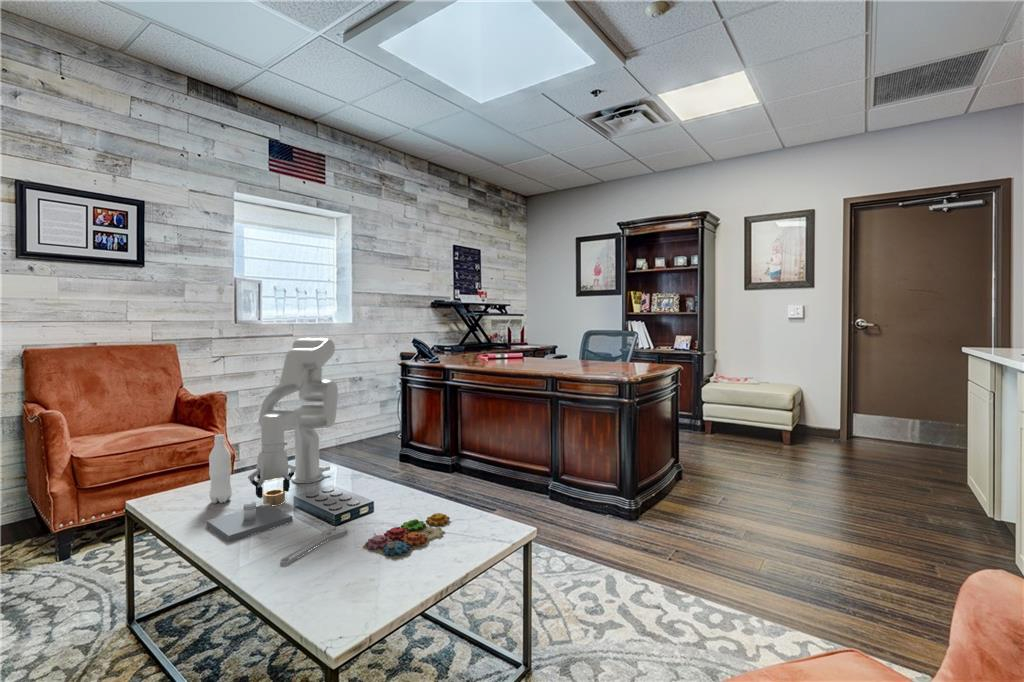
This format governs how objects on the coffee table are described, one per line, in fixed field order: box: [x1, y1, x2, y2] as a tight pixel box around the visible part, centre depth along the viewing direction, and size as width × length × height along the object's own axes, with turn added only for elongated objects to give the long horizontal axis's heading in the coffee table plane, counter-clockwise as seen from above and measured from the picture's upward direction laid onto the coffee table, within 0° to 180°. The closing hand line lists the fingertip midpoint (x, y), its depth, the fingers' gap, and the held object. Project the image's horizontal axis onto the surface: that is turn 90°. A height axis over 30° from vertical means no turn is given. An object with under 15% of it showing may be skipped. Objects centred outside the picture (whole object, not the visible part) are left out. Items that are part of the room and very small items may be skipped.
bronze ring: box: [262, 488, 286, 506], centre depth 187 cm, size 7×7×4 cm
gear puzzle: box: [362, 512, 450, 560], centre depth 159 cm, size 31×16×4 cm, turn 147°
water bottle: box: [208, 433, 233, 504], centre depth 188 cm, size 7×7×25 cm
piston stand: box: [206, 500, 294, 543], centre depth 167 cm, size 20×18×7 cm
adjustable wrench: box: [279, 526, 348, 566], centre depth 152 cm, size 25×6×2 cm, turn 154°
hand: (273, 494), depth 186 cm, fingers open, 9 cm apart
